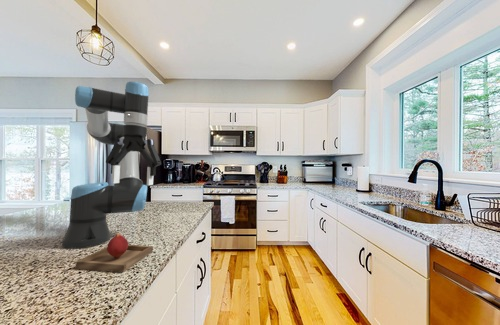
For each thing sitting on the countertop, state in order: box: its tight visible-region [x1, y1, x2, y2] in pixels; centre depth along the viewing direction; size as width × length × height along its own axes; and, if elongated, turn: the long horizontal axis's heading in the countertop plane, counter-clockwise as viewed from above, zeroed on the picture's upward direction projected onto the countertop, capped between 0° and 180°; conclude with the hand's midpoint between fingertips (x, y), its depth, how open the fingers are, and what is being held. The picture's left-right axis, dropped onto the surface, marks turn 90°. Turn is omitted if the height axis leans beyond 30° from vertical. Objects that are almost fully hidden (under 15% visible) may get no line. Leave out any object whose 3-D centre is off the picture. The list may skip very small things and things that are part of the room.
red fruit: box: [106, 232, 129, 258], centre depth 68 cm, size 6×6×8 cm
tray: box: [75, 244, 154, 273], centre depth 68 cm, size 15×15×2 cm
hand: (132, 184), depth 75 cm, fingers open, 13 cm apart
